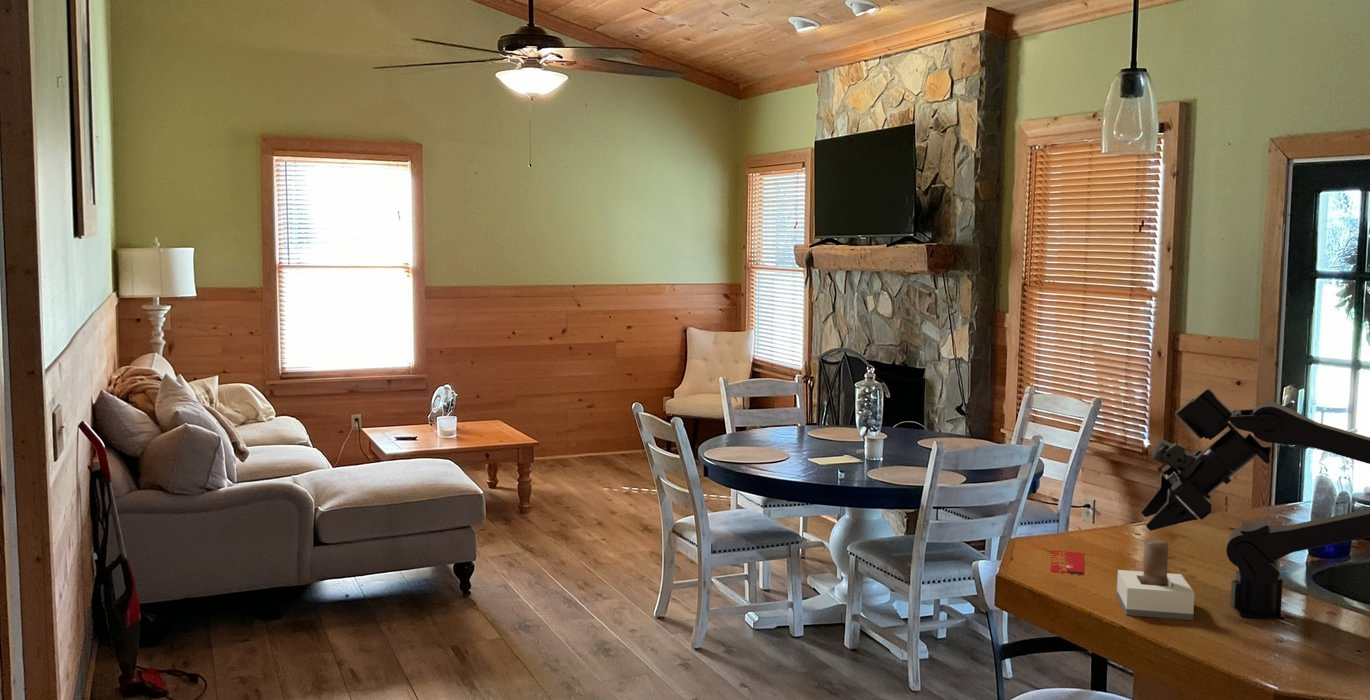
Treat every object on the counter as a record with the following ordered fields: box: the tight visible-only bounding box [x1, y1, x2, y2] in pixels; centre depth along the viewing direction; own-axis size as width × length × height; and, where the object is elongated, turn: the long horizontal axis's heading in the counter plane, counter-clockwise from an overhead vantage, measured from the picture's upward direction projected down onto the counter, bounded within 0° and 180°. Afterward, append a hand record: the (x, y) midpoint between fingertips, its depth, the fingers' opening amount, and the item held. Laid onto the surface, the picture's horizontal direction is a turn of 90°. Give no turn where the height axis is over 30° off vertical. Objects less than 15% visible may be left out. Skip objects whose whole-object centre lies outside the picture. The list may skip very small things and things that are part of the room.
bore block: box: [1116, 569, 1195, 621], centre depth 177 cm, size 10×10×4 cm
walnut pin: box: [1142, 539, 1169, 586], centre depth 177 cm, size 4×4×10 cm
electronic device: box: [1050, 549, 1085, 576], centre depth 203 cm, size 6×1×15 cm
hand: (1145, 521), depth 180 cm, fingers open, 9 cm apart
